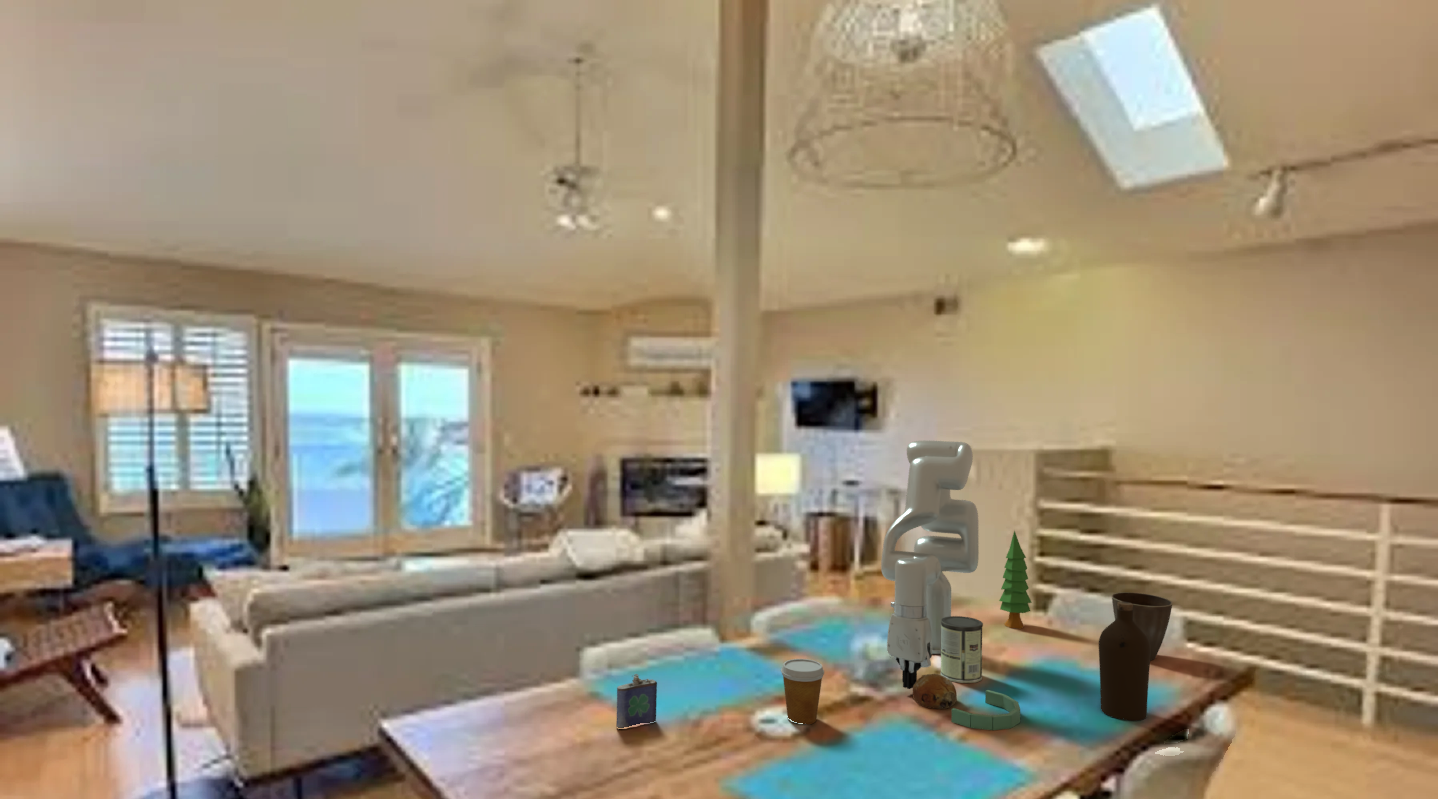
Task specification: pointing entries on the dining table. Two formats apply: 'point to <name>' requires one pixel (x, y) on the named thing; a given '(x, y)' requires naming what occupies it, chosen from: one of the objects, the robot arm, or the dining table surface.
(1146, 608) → the plant pot
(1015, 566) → the decorative tree
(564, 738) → the dining table surface
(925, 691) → the bread roll
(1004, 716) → the segmented green arc
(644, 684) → the flask
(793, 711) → the disposable coffee cup
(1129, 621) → the olive oil
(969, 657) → the coffee can
